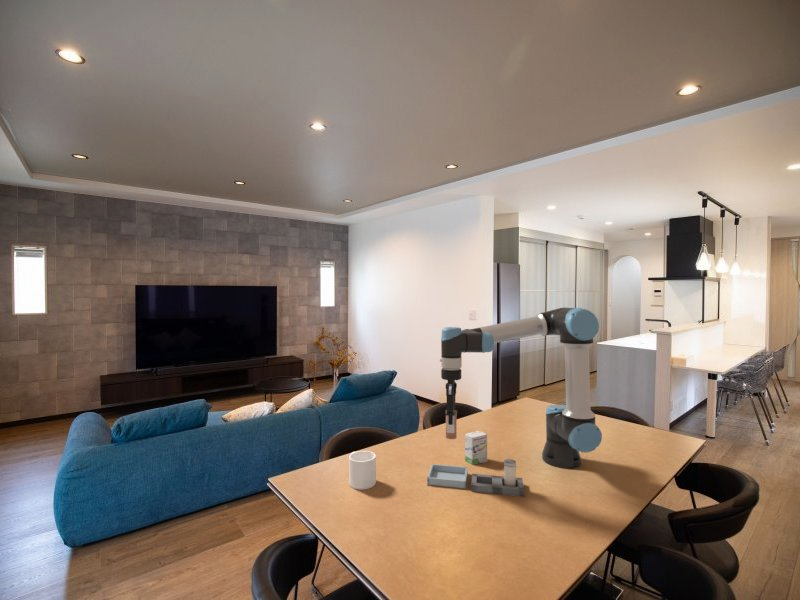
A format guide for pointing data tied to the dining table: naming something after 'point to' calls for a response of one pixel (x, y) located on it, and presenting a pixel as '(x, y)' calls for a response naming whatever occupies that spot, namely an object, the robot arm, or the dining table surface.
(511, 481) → the cylinder
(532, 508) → the dining table surface
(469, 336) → the robot arm
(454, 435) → the fuse
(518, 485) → the block
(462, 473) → the parts tray
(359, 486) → the mug
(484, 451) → the ink box
